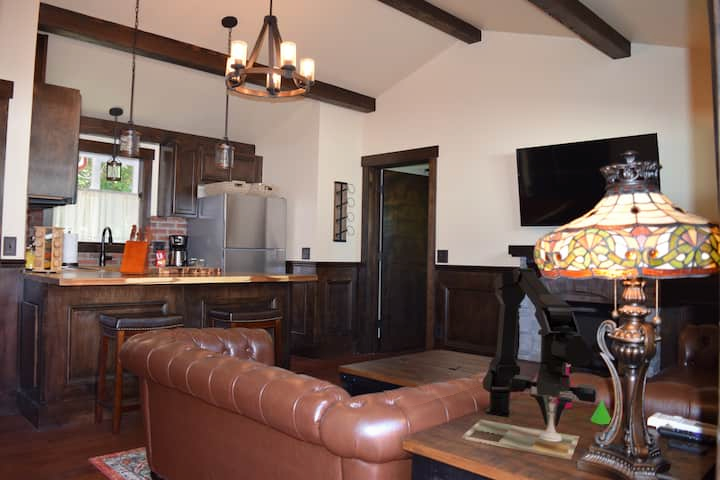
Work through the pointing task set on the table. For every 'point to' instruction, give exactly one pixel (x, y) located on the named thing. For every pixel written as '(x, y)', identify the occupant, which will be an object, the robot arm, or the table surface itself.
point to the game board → (525, 439)
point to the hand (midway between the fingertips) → (551, 425)
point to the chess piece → (551, 424)
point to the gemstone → (601, 415)
